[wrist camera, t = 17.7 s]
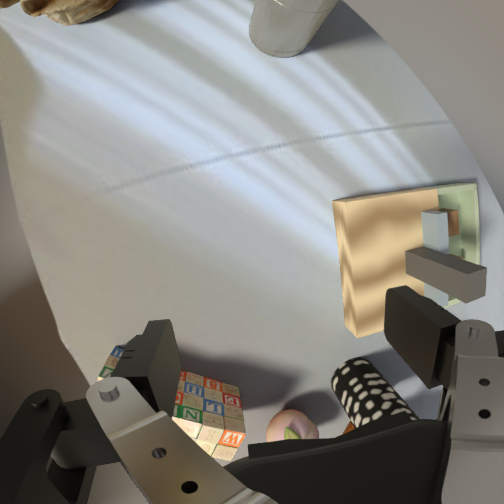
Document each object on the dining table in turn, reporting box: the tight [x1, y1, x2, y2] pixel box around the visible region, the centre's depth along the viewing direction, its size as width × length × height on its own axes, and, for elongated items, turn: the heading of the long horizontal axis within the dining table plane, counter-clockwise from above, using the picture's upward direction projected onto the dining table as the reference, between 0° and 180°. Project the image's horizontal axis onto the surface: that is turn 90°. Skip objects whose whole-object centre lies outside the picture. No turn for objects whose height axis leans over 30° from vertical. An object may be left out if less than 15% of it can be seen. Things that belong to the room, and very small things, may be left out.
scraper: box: [405, 210, 487, 307], centre depth 37 cm, size 14×6×14 cm, turn 10°
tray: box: [423, 183, 480, 308], centre depth 47 cm, size 20×10×4 cm, turn 10°
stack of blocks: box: [98, 346, 246, 461], centre depth 43 cm, size 21×6×12 cm, turn 68°
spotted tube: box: [331, 358, 419, 428], centre depth 43 cm, size 8×8×20 cm
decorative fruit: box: [266, 410, 319, 442], centre depth 48 cm, size 9×8×10 cm
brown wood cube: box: [439, 208, 459, 237], centre depth 46 cm, size 4×4×4 cm
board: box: [332, 188, 439, 338], centre depth 46 cm, size 20×16×5 cm
